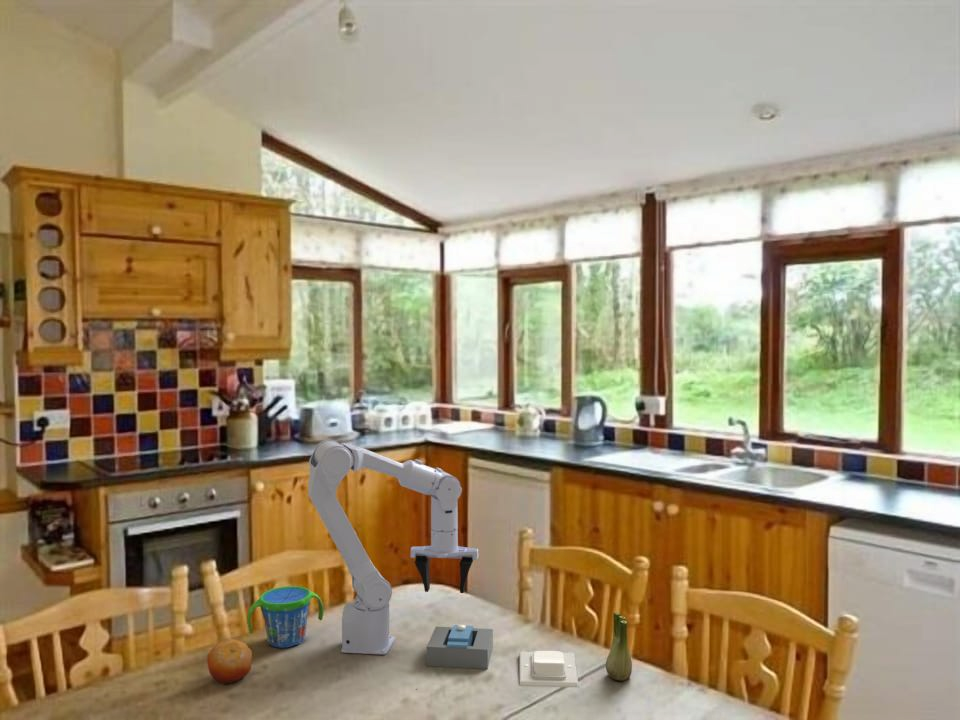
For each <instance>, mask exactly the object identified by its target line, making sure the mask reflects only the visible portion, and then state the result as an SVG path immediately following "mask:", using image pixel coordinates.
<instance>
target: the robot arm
mask: <svg viewBox="0 0 960 720" xmlns="http://www.w3.org/2000/svg"><path fill="white" fill-rule="evenodd" d="M308 461H309V462H308V463H309V473H308V476H309V477H308V485H307V494H308V497H309V499H310V501H311V503H312V505H313V506H314V508H315V510H316V512H317V514H318V516H319V518H320V520H321V521H322V523H323V525H324V526H325V528H326V530H327V532H328V534H329V536H330V537H331V540H332V541H333V543H334V544H335V547H336V548H337V550H338V552H339V553H340V555H341V558H342V559H343V562H344V563H345V565H346V567H347V570H348V572H349V574H350V576H351V586H352V589H353V591H354V592H355V593H356V596H355V599H354V602H347V603H346V604H345V605H344V607H343V611H342V617H341V649H340V652H341V653H343V654H344V653H346V654H365V655H366V654H367V655H387V654H388V652H389V650H390V648H391V647H392V645H393V643H394V642H395V640H396V637H395V636H390V601H391V599H392V595H393V588H392V586H391V583H390V582H389V581H388V580H387V579H385V577H383V575H381V573H380V571H379V570H378V569H377V568H376V567H375V565H374V564H373V561H371V559H370V557H369V555H368V554H367V552H366V550H365V547H364V546H363V544H362V542H361V541H360V539H359V537H358V534H357V533H356V531H355V529H354V528H353V525H352V523H351V522H350V520H349V518H348V516H347V514H346V513H345V511H344V509H343V507H342V506H341V503H340V501H339V500H338V498H337V496H336V493H337V490H338V488H339V485H340V483H341V481H342V480H343V479H344V478H345V477H346V476H347V474H349V472H350V471H353V472H357V471H359V470H362V469H364V468H365V469H368V470H371V471H376V472H378V473H381V474H384V475H388V476H390V477H393V478H396V479H397V481H398V483H399V485H400V486H401V487H404V488H406V489H408V490H412V491H414V492H417V493H421V494H423V495H426V496H431V497H430V499H431V500H430V501H431V503H430V504H431V505H430V506H431V507H430V536H431V537H430V540H431V541H430V543H431V544H430V545H423V546H422V545H421V546H412V547H411V548H410V558H412V559H415V560H414V565H415V567H416V569H417V570H418V572H419V574H420V578H421V580H422V581H421V582H422V584H423V589H424V592H425V593H428V592H429V591H430V589H431V588H430V586H431V583H430V582H431V581H430V578H431V577H430V562H431V561H430V560H431V558H432V559H433V558H438V559H439V558H440V559H461V560H460V562H459V574H460V578H459V579H460V581H459V593H460V594H464V593H465V589H466V582H467V579H468V574H469V571H470V569H471V566H472V564H473V562H474V561H478V559H479V548H473V547H467V546H466V547H465V546H460V545H459V541H458V540H459V539H458V538H459V537H458V534H459V533H458V532H459V531H458V530H459V525H458V524H459V521H458V518H459V516H458V515H459V514H458V513H459V512H458V509H459V508H458V500H459V498H460V497H461V495H462V492H463V488H462V487H461V483H460V481H459V480H458V478H457V477H456V476H453V475H452V474H450V473H448V472H446V471H444V470H443V469H441V468H439V467H435V468H434V467H431V466H428V465H425V464H423V461H422V460H420V459H417V458H416V459H414V460H411V459H408V460H406V461H404V462H402V463H401V462H399V461H396V460H394V459H392V458H390V457H386V456H384V455H381V454H379V453H377V452H374V451H371V450H369V449H366V448H365V447H364V448H363V447H360V446H357V445H353V444H350V443H344V442H341V444H340V443H339V442H338V441H336V440H334V439H326V440H325V439H324V440H322V441H321V442H319V443H318V444H317V445H316V446H315V448H314V449H313V452H312V453H311V456H310V458H309V460H308Z"/></svg>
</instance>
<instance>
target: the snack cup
mask: <svg viewBox="0 0 960 720" xmlns="http://www.w3.org/2000/svg"><path fill="white" fill-rule="evenodd" d="M313 598H315V599H317V603H318V616H317V618H318V620H319V621H322V620H323V618H324V617H323V616H324V604H323V602H322V599H321V598H320V597H319V595H318V594H317V593H315V592H313V591H311V590H310V589H308V588H307V587H303V586H298V585H297V586H295V585H293V586H292V585H290V586H280V587H274V588H272V589H269V590H267V591H265V592H263V593H262V594H260V596H259V598H258V599H257V600H256V601H255V602H253V603H252V605H251V606H250V608H249V610H248V611H247V612H248V613H247V619H246V623H247V628H248V631H249V633H250V634H252V633H253V629H252V621H251V617H252V614H253V612H254V611H256V609H257V608H258V607H259V608H260V611H261V614H262V617H263V621H264V626H265V632H266V637H267V642H268V644H269V645H271V646H272V647H275V648H279V649H285V648H291V647H294V646H296V645H301V643H302V642H303V641H304V640H305V638H306V632H307V624H308V623H307V622H308V614H309V607H310V605H311V600H312V599H313Z"/></svg>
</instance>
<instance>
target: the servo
mask: <svg viewBox="0 0 960 720" xmlns="http://www.w3.org/2000/svg"><path fill="white" fill-rule="evenodd" d="M473 628H474V625H465V624H456V625H455V624H454V625H452V630H451V632H450V635H449V637H448V643H447V647H450V648H468V646H472V632H473Z"/></svg>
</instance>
